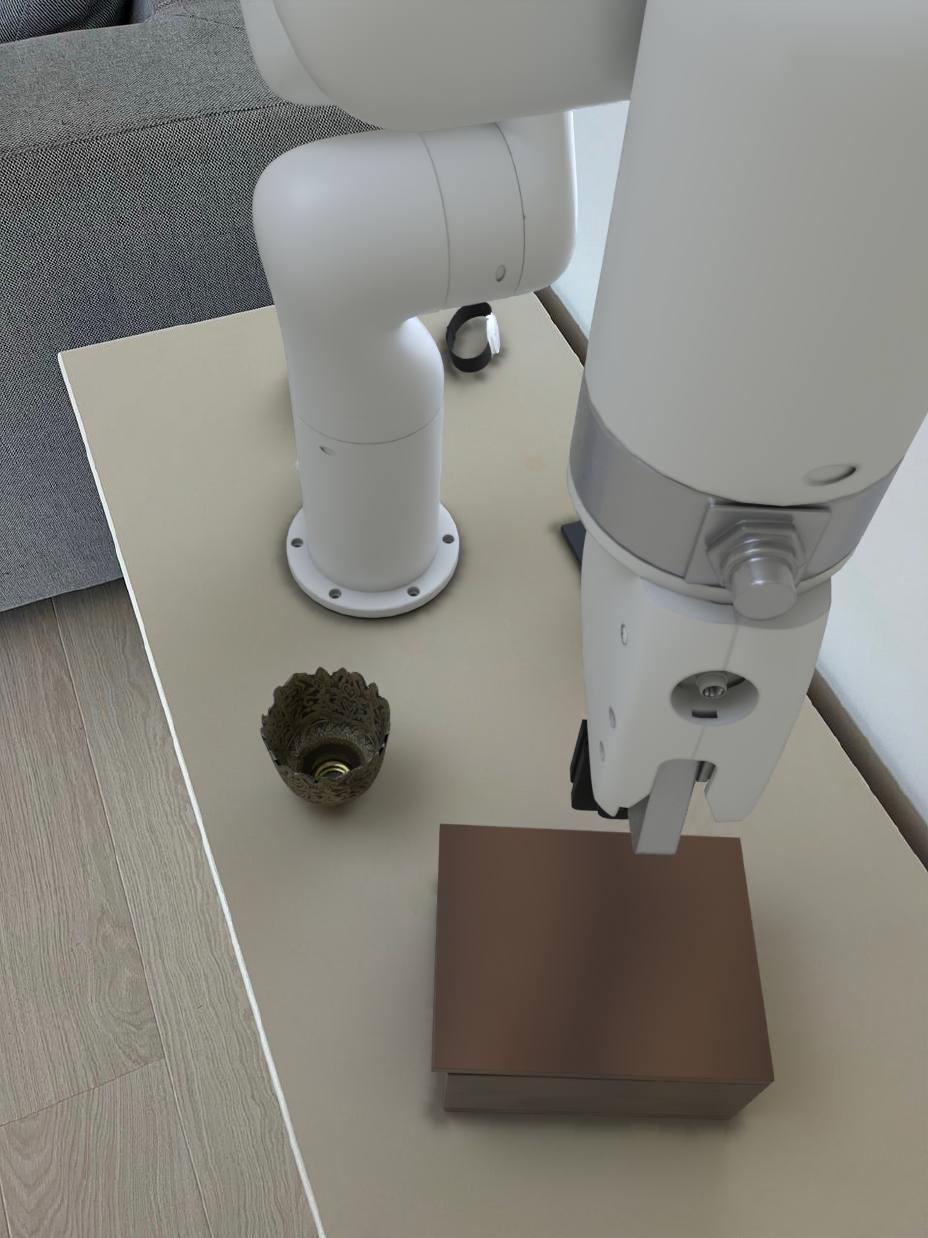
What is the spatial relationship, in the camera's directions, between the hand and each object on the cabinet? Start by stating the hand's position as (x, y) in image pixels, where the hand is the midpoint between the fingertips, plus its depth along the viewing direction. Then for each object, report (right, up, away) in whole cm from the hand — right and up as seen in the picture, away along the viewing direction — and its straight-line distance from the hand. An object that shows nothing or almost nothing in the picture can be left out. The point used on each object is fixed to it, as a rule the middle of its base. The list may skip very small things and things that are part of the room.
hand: (611, 792), depth 41 cm
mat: (+7, +9, +38) cm, 39 cm away
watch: (-5, +30, +53) cm, 61 cm away
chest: (+1, -15, +20) cm, 25 cm away
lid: (+1, -10, +14) cm, 17 cm away
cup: (-14, -4, +28) cm, 31 cm away
